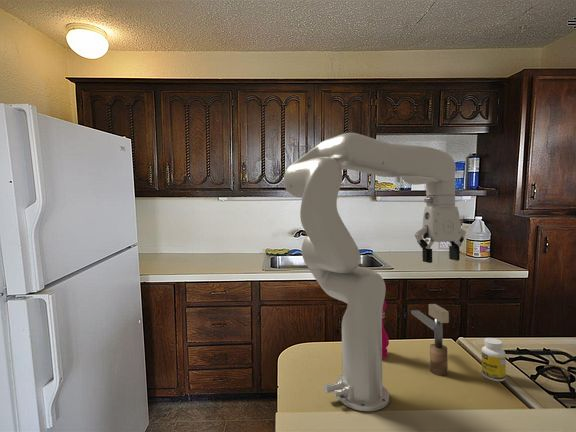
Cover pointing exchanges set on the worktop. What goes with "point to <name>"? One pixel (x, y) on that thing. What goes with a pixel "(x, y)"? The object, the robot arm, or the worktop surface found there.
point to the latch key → (436, 325)
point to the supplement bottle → (493, 360)
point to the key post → (438, 360)
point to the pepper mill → (384, 335)
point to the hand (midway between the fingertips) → (441, 261)
